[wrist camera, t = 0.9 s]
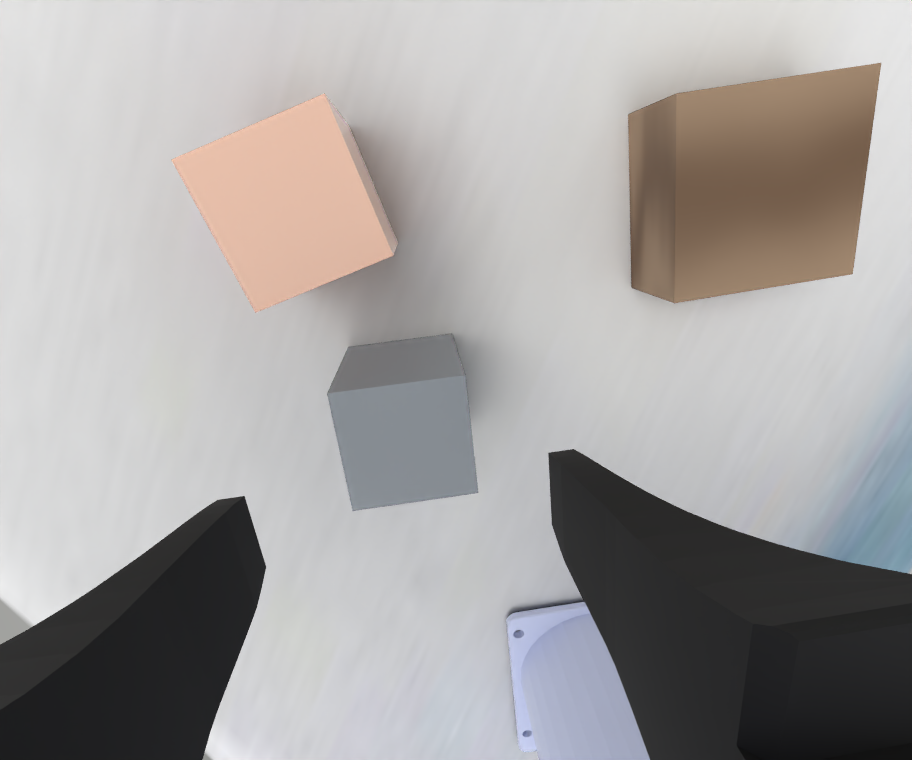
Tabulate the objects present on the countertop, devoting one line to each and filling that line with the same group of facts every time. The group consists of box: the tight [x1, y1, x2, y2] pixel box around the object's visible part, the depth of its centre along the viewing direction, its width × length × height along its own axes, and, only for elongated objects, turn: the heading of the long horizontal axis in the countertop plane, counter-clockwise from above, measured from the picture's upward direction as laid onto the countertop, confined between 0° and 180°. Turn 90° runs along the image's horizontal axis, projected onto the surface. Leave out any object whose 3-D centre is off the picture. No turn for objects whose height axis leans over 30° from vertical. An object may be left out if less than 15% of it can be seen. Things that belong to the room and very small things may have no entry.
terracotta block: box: [172, 93, 398, 313], centre depth 15 cm, size 4×4×5 cm
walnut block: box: [628, 63, 881, 303], centre depth 16 cm, size 6×6×4 cm
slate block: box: [327, 334, 478, 511], centre depth 17 cm, size 4×4×5 cm
